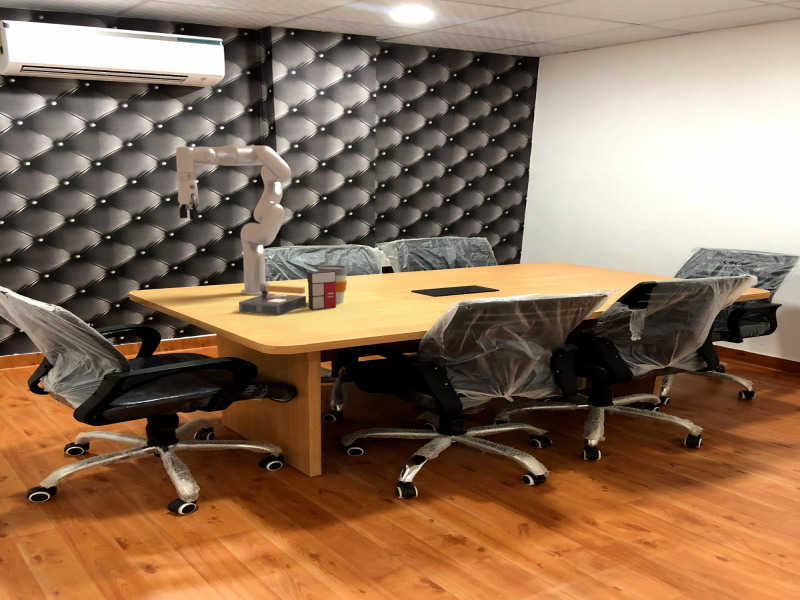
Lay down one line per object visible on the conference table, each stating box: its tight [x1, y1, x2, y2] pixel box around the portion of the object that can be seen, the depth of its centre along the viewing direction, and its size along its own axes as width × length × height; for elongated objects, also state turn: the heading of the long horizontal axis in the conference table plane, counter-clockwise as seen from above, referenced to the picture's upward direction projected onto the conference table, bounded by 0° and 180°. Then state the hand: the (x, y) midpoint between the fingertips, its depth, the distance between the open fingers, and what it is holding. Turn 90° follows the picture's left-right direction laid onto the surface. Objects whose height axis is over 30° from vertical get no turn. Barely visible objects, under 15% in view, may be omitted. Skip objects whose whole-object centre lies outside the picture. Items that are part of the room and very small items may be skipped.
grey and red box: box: [306, 270, 337, 311], centre depth 296 cm, size 11×4×15 cm, turn 122°
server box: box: [238, 291, 307, 316], centre depth 295 cm, size 22×18×6 cm
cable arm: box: [260, 283, 306, 295], centre depth 301 cm, size 20×4×3 cm, turn 70°
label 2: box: [268, 299, 286, 303], centre depth 290 cm, size 6×5×1 cm
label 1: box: [269, 293, 288, 298], centre depth 301 cm, size 6×5×1 cm
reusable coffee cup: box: [317, 264, 348, 305], centre depth 310 cm, size 13×13×15 cm
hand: (188, 218), depth 307 cm, fingers open, 9 cm apart
